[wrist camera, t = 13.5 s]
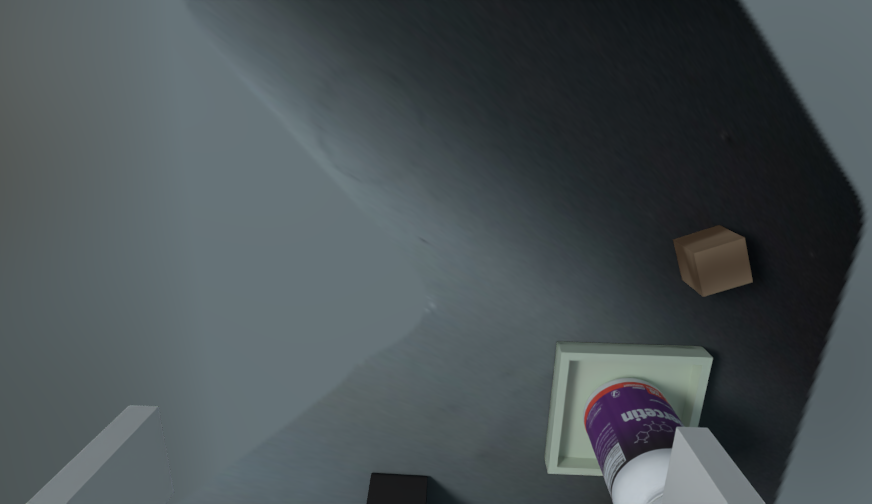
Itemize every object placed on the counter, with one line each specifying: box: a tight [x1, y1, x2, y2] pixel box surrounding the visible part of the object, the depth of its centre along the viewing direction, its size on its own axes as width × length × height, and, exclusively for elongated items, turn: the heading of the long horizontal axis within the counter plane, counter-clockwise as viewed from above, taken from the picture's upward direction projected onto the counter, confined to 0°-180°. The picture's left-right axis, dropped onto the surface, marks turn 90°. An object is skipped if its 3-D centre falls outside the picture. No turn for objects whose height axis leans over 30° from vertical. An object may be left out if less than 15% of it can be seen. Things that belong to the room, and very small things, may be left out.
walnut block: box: [673, 225, 753, 297], centre depth 41 cm, size 4×4×4 cm
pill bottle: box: [583, 378, 685, 504], centre depth 41 cm, size 8×8×14 cm
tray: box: [544, 341, 713, 476], centre depth 47 cm, size 14×14×2 cm
